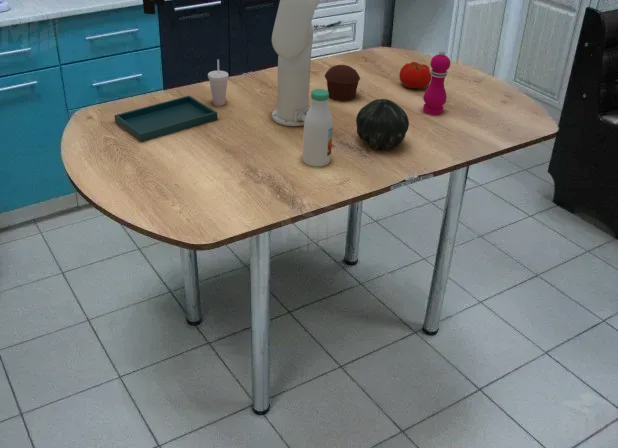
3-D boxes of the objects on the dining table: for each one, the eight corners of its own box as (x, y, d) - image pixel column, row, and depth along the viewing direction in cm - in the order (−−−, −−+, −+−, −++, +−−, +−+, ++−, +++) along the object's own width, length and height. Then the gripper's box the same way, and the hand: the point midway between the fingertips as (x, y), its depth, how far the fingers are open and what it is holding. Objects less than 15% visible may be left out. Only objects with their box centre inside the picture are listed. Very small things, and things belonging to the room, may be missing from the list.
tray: (217, 119, 202) (217, 112, 201) (141, 142, 188) (140, 134, 187) (189, 102, 212) (189, 95, 210) (115, 122, 198) (114, 115, 196)
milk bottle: (321, 170, 179) (325, 100, 168) (296, 162, 182) (299, 92, 171) (335, 159, 184) (340, 90, 173) (311, 151, 188) (315, 83, 177)
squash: (384, 108, 201) (367, 81, 188) (424, 127, 193) (408, 99, 180) (357, 146, 200) (338, 121, 188) (396, 166, 192) (378, 142, 179)
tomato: (431, 92, 227) (435, 71, 223) (399, 91, 227) (402, 69, 223) (427, 80, 236) (430, 60, 232) (396, 79, 236) (399, 58, 232)
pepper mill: (419, 106, 217) (428, 46, 206) (441, 106, 217) (451, 46, 206) (424, 115, 211) (433, 54, 200) (446, 116, 211) (457, 54, 200)
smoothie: (231, 100, 215) (230, 57, 207) (227, 108, 209) (225, 65, 202) (211, 98, 215) (209, 56, 207) (206, 106, 210) (205, 63, 202)
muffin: (364, 95, 223) (367, 66, 217) (348, 105, 215) (350, 76, 209) (334, 86, 228) (336, 58, 222) (316, 96, 220) (318, 67, 214)
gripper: (153, -47, 178) (158, 18, 187) (171, -59, 192) (175, 1, 201) (125, -48, 178) (132, 16, 188) (145, -61, 192) (151, 0, 202)
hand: (154, 8), depth 195 cm, fingers open, 9 cm apart
